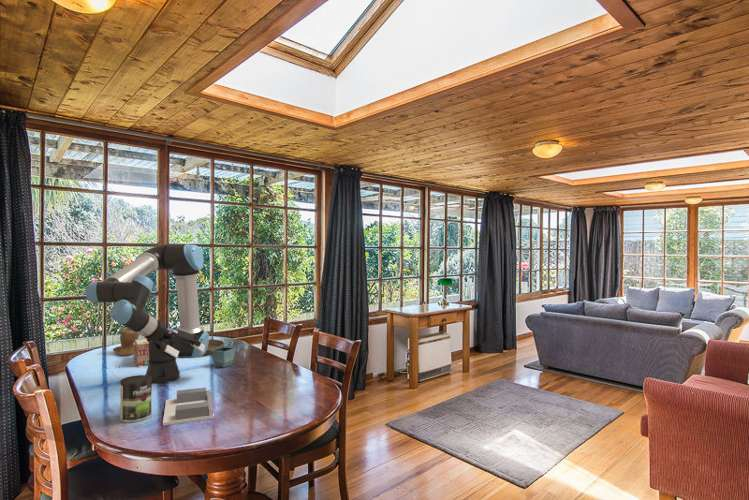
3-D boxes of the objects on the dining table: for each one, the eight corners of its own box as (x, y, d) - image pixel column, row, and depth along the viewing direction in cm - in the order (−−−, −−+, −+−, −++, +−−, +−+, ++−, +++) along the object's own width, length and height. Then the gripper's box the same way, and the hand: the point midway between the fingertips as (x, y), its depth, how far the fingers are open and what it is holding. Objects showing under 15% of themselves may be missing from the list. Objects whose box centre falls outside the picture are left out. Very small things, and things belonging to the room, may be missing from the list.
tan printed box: (133, 358, 243) (133, 336, 243) (145, 357, 246) (145, 335, 246) (137, 367, 225) (137, 344, 225) (150, 365, 229) (150, 342, 228)
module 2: (175, 420, 154) (175, 410, 154) (175, 415, 159) (175, 405, 159) (208, 415, 159) (208, 406, 159) (207, 410, 163) (207, 401, 163)
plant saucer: (167, 360, 239) (167, 352, 239) (169, 348, 267) (169, 341, 267) (226, 355, 252) (226, 347, 251) (222, 344, 280) (222, 337, 280)
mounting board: (162, 425, 152) (162, 422, 152) (166, 402, 175) (166, 399, 175) (214, 418, 159) (214, 415, 159) (211, 396, 182) (211, 394, 182)
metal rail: (209, 416, 158) (209, 410, 158) (206, 395, 180) (206, 390, 180) (213, 415, 159) (213, 409, 159) (210, 394, 181) (210, 390, 181)
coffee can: (157, 415, 161) (157, 377, 161) (129, 424, 152) (129, 385, 152) (142, 409, 167) (142, 373, 167) (114, 418, 158) (114, 380, 158)
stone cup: (141, 354, 252) (141, 328, 252) (118, 357, 244) (118, 331, 244) (134, 349, 263) (134, 325, 263) (112, 352, 255) (112, 327, 255)
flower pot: (210, 367, 226) (210, 350, 226) (222, 363, 234) (222, 346, 234) (224, 369, 223) (224, 351, 223) (235, 364, 231) (235, 348, 231)
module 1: (176, 403, 171) (176, 394, 171) (176, 399, 175) (177, 390, 175) (206, 399, 175) (206, 391, 175) (206, 395, 180) (206, 387, 180)
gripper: (122, 343, 162) (164, 365, 177) (173, 330, 155) (212, 354, 170) (129, 325, 167) (169, 348, 182) (179, 312, 159) (217, 337, 174)
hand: (190, 351), depth 176 cm, fingers open, 13 cm apart
